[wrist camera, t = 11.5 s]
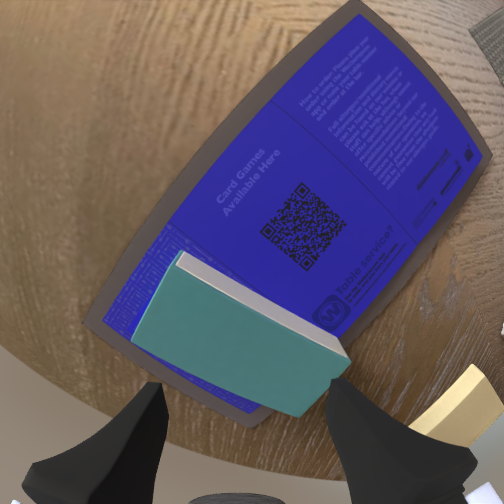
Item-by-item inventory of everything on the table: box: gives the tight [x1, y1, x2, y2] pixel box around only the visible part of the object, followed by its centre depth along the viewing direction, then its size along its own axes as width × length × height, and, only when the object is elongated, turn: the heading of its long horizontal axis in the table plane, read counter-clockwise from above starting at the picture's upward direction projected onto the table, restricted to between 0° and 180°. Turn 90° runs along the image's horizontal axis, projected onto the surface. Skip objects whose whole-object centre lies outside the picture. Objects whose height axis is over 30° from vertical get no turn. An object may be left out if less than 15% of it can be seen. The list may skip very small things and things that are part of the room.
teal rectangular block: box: [131, 250, 351, 418], centre depth 16 cm, size 5×11×3 cm, turn 57°
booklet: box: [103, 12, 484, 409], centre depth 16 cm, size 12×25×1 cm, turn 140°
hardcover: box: [408, 364, 504, 447], centre depth 22 cm, size 10×13×2 cm
